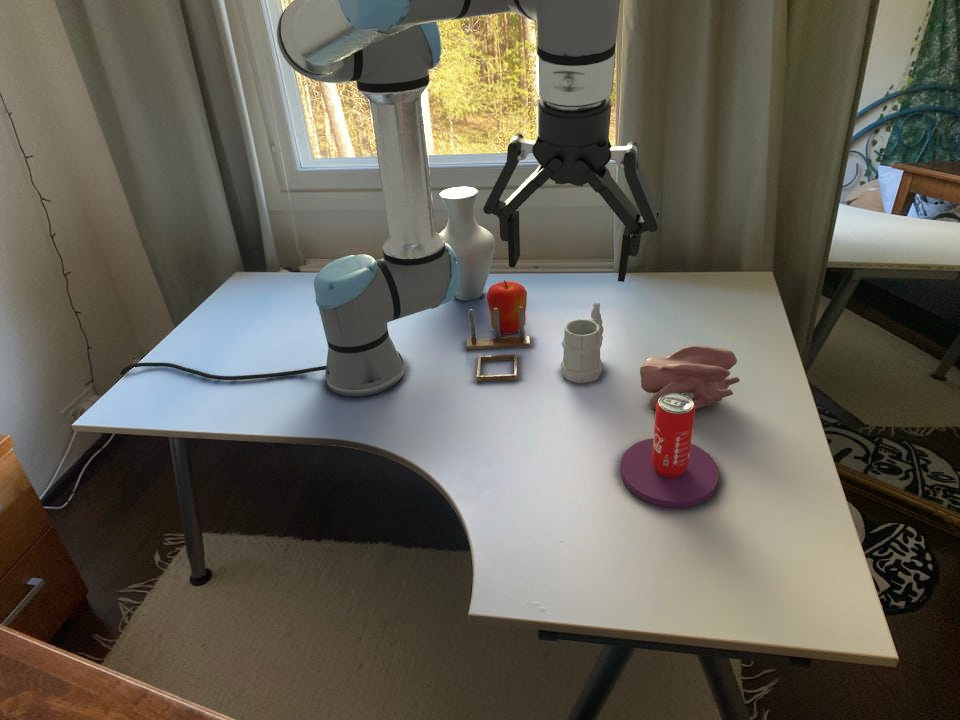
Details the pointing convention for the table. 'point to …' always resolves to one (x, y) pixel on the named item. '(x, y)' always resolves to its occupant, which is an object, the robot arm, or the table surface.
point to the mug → (583, 348)
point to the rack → (497, 345)
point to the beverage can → (672, 434)
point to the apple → (507, 304)
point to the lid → (669, 491)
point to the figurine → (690, 374)
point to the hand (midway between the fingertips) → (567, 268)
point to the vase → (467, 242)
